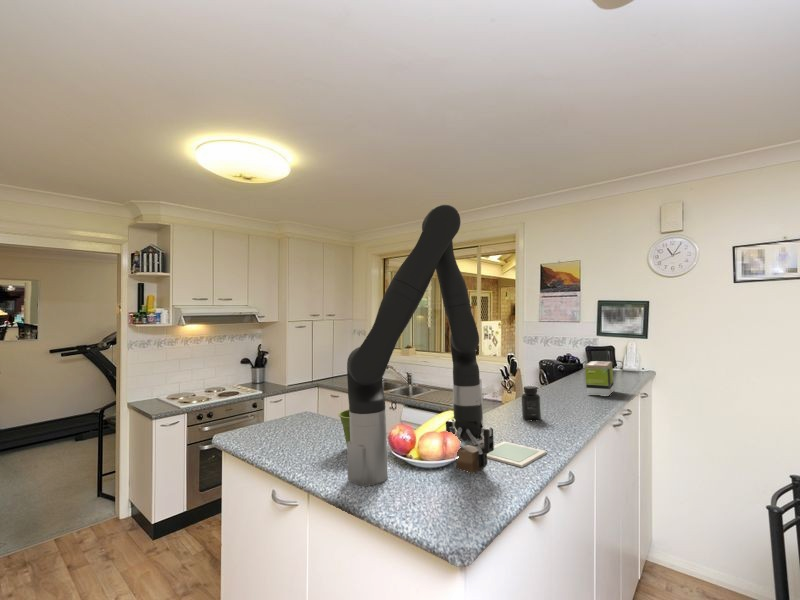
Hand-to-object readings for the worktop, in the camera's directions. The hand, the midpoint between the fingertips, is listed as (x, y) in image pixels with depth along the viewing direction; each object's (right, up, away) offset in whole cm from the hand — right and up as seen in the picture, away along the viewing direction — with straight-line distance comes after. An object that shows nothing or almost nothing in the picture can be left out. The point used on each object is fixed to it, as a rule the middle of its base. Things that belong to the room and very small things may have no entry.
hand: (470, 463), depth 105 cm
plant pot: (-31, -3, +18) cm, 37 cm away
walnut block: (0, -1, 0) cm, 1 cm away
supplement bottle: (+31, -2, +45) cm, 55 cm away
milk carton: (+6, -2, +26) cm, 27 cm away
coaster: (+14, -1, +9) cm, 16 cm away
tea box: (+78, -2, +86) cm, 116 cm away
